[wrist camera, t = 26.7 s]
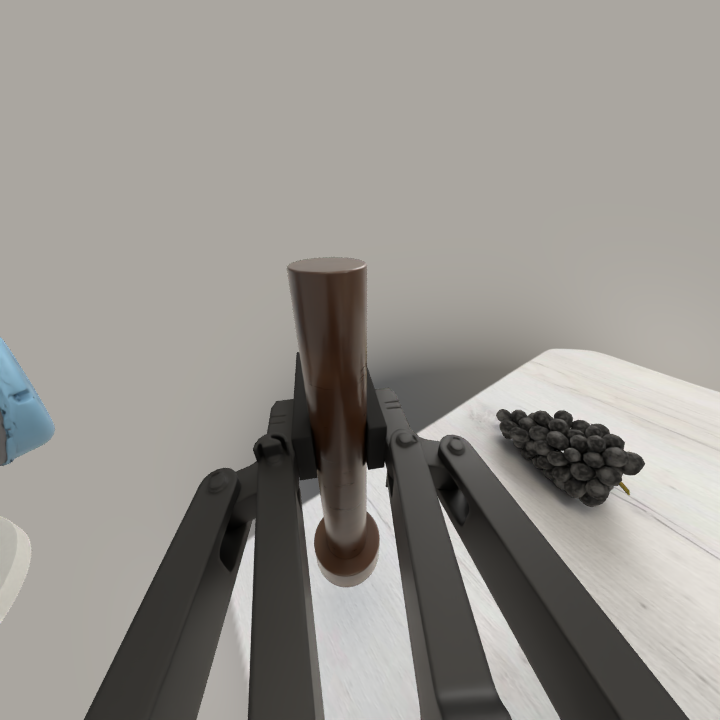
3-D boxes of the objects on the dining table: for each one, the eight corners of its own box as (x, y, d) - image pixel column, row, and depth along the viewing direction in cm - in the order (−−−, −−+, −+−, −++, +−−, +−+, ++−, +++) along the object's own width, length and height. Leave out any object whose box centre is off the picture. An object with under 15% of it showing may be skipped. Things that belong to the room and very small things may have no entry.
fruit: (500, 381, 34) (655, 468, 23) (529, 378, 39) (668, 450, 28) (472, 433, 37) (596, 532, 26) (502, 425, 42) (617, 506, 31)
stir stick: (309, 584, 15) (230, 278, 6) (323, 514, 19) (284, 253, 10) (378, 591, 15) (395, 280, 6) (379, 519, 18) (392, 253, 9)
